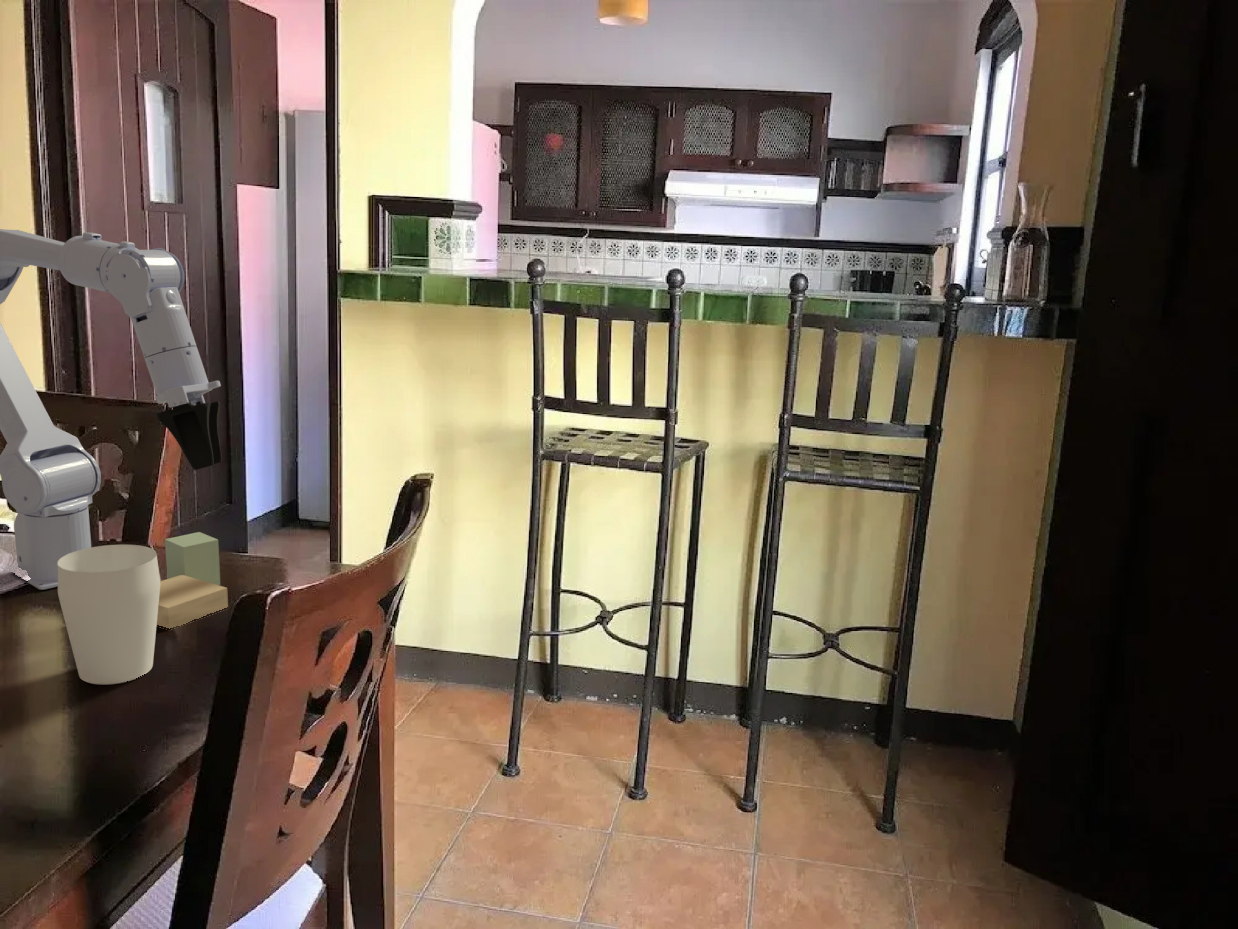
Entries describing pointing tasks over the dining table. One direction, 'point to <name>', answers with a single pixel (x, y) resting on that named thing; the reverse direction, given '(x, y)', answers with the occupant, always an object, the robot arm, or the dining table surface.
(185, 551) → the green block
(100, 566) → the cup
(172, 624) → the beech base
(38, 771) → the dining table surface
